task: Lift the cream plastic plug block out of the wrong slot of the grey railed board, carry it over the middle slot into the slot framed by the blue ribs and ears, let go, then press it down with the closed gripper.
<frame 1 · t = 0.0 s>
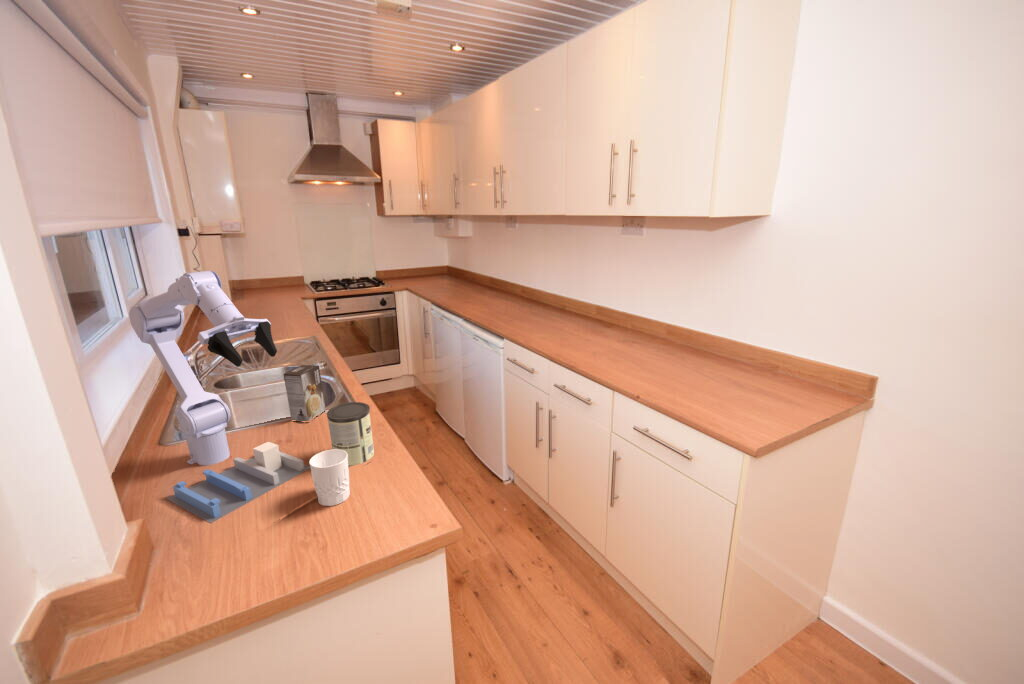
hand: (257, 358, 95), 32 cm above the worktop, tool tilted 50°, fingers open, 7 cm apart
cream plug: (269, 468, 111), point 1 cm above the worktop, touching grey railed board
coffee can: (354, 459, 117), on the worktop
coffee box: (309, 417, 143), on the worktop
white cup: (334, 498, 101), on the worktop
grey railed board: (243, 485, 106), on the worktop
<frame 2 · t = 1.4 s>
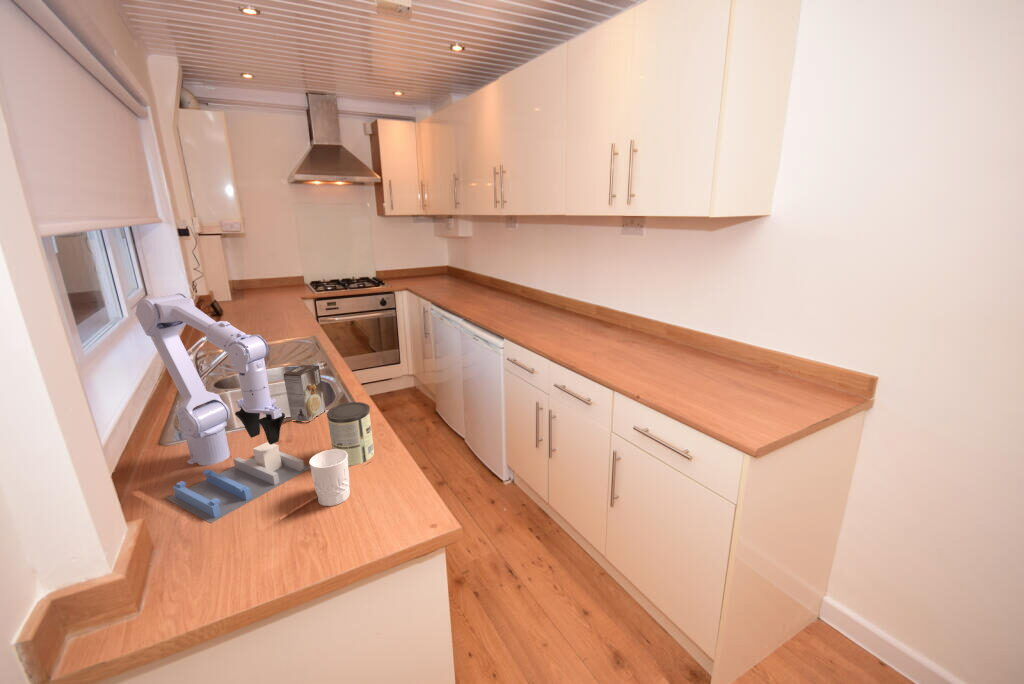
hand: (264, 439, 109), 9 cm above the worktop, tool pointing down, fingers open, 7 cm apart
nothing on the worktop moved.
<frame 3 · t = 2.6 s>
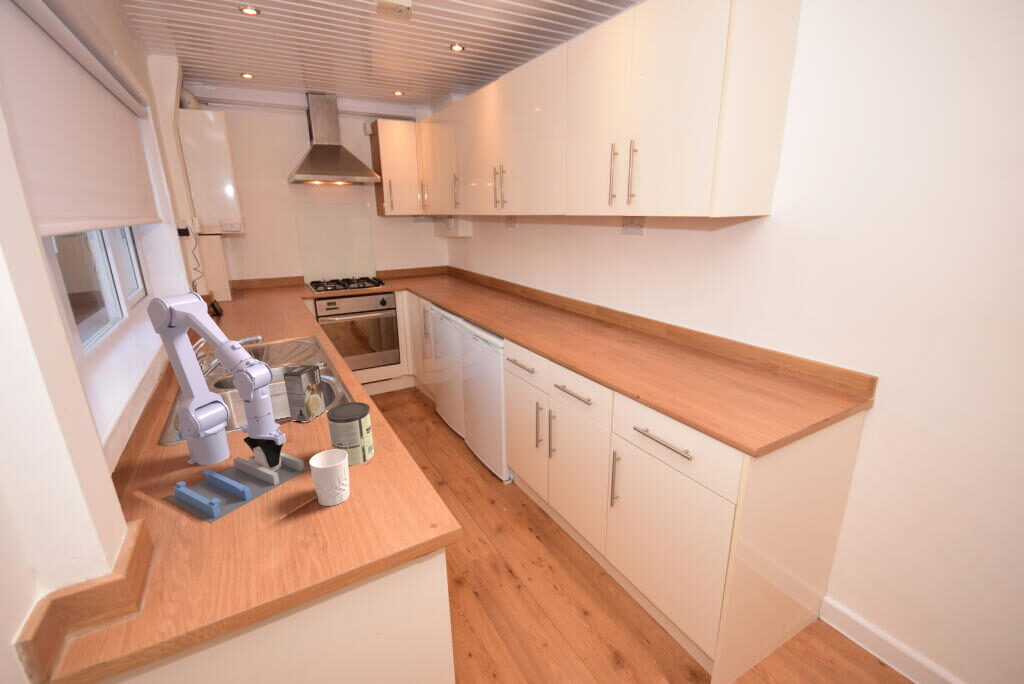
hand: (268, 463, 111), 2 cm above the worktop, tool pointing down, fingers closed on cream plug, 4 cm apart
cream plug: (269, 468, 111), point 1 cm above the worktop, touching grey railed board, gripper
everything else where it was.
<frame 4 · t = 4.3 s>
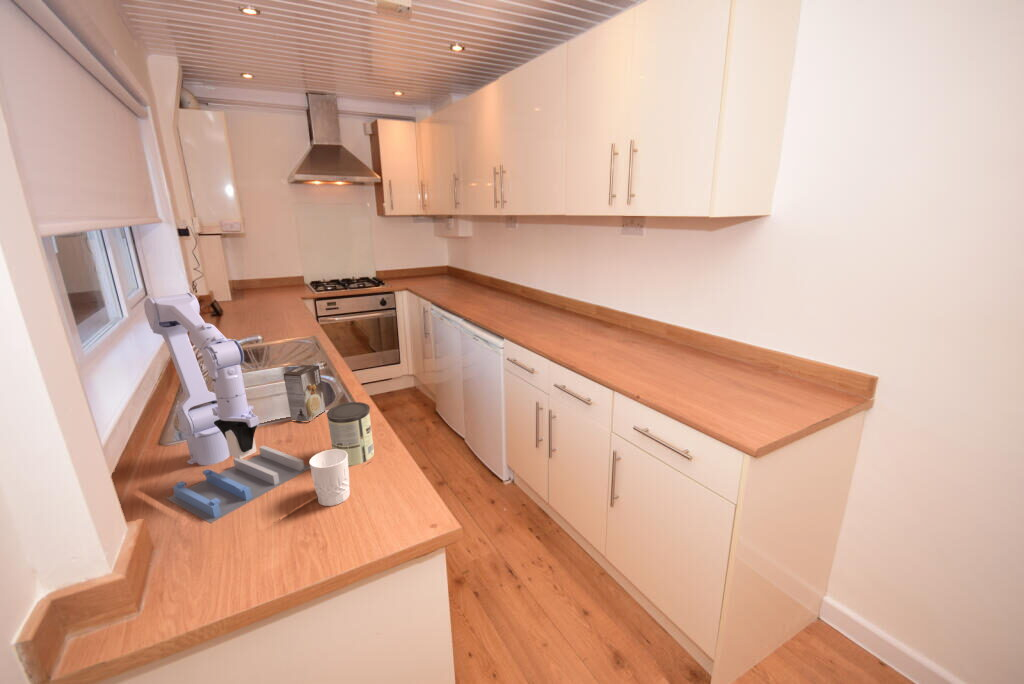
hand: (241, 448, 104), 9 cm above the worktop, tool pointing down, fingers closed on cream plug, 4 cm apart
cream plug: (243, 453, 105), point 8 cm above the worktop, touching gripper
everything else where it was.
when the fingers open (3 cm above the worktop, at t = 6.3 s): cream plug stays where it is, resting on grey railed board.
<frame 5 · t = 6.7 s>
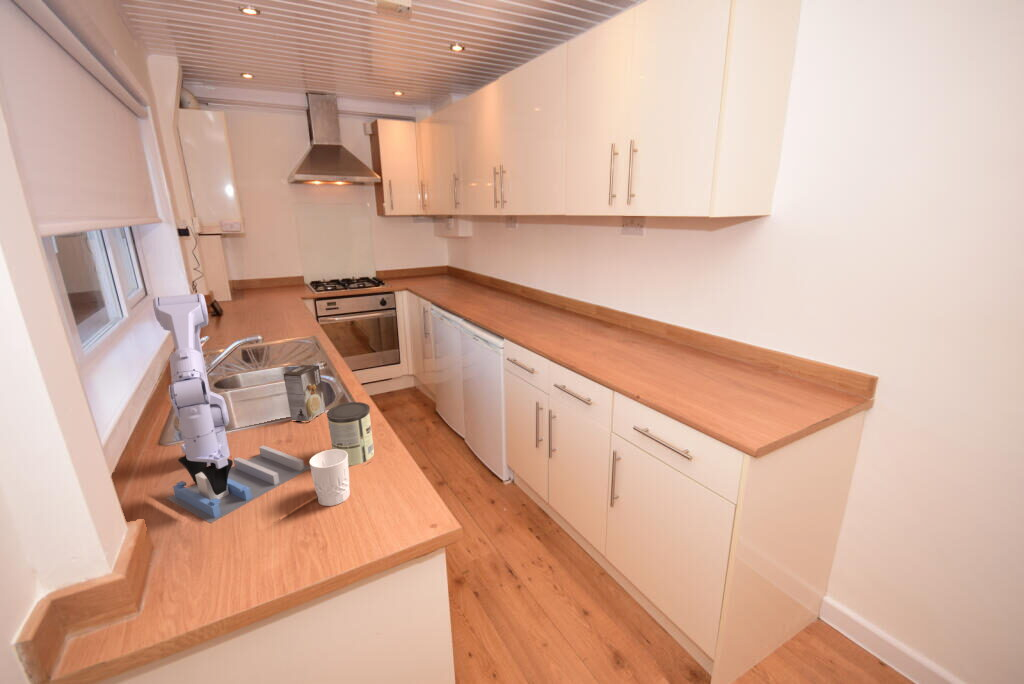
hand: (211, 487, 99), 3 cm above the worktop, tool pointing down, fingers open, 7 cm apart
cream plug: (215, 496, 100), point 1 cm above the worktop, touching grey railed board
everything else where it was.
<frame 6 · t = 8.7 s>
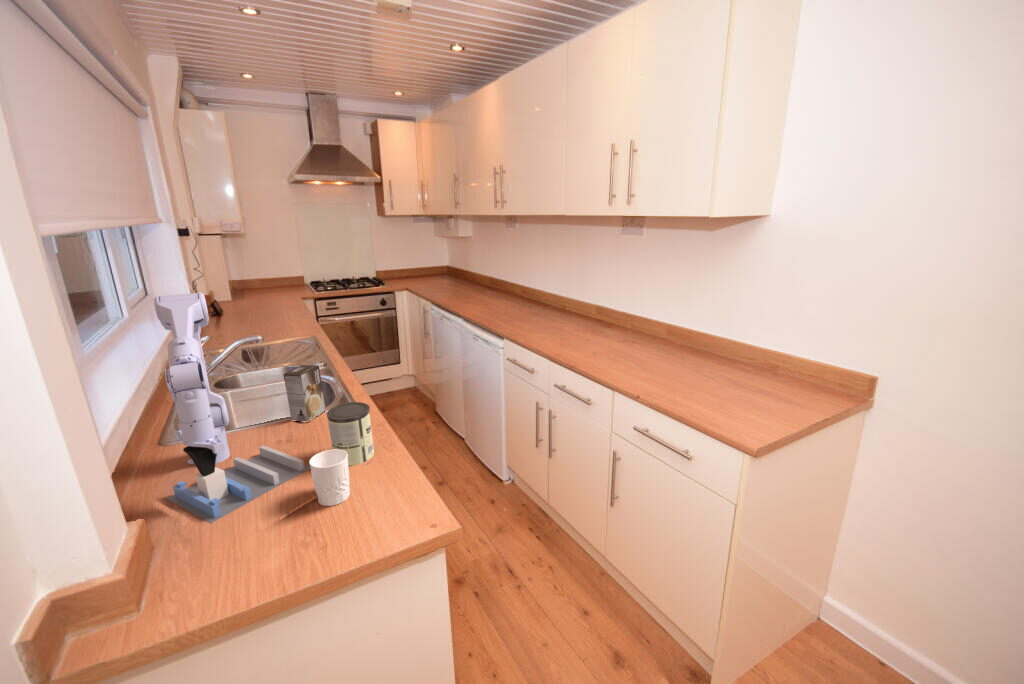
hand: (208, 474, 98), 7 cm above the worktop, tool pointing down, fingers closed, pressing on cream plug
cream plug: (215, 496, 100), point 1 cm above the worktop, touching grey railed board, gripper
everything else where it was.
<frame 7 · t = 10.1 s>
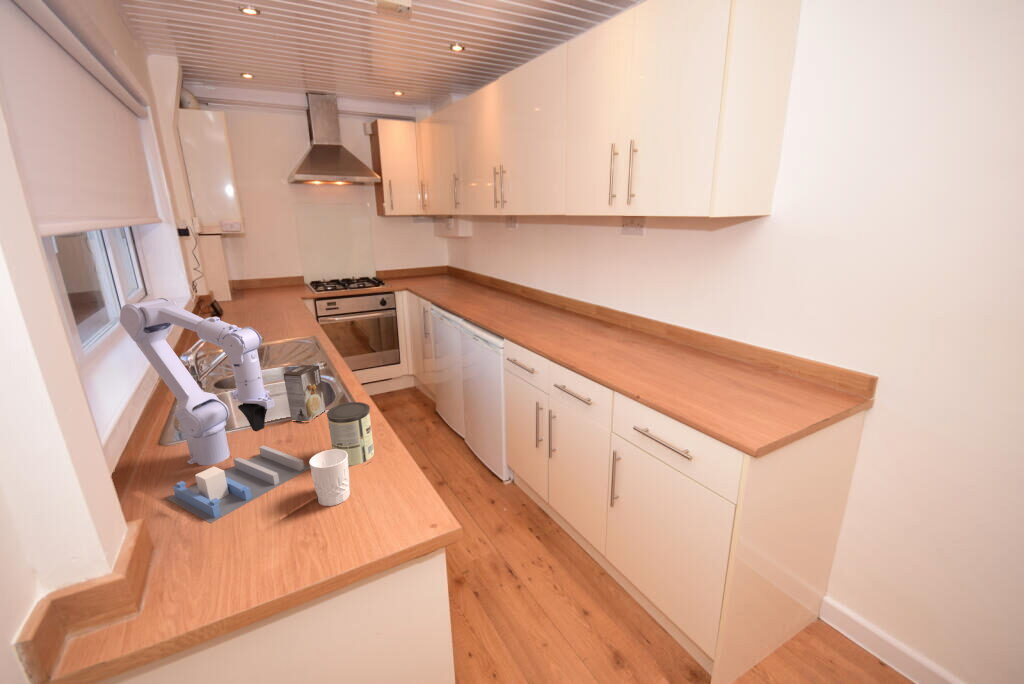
hand: (258, 429, 111), 10 cm above the worktop, tool pointing down, fingers closed
cream plug: (215, 496, 100), point 1 cm above the worktop, touching grey railed board
everything else where it was.
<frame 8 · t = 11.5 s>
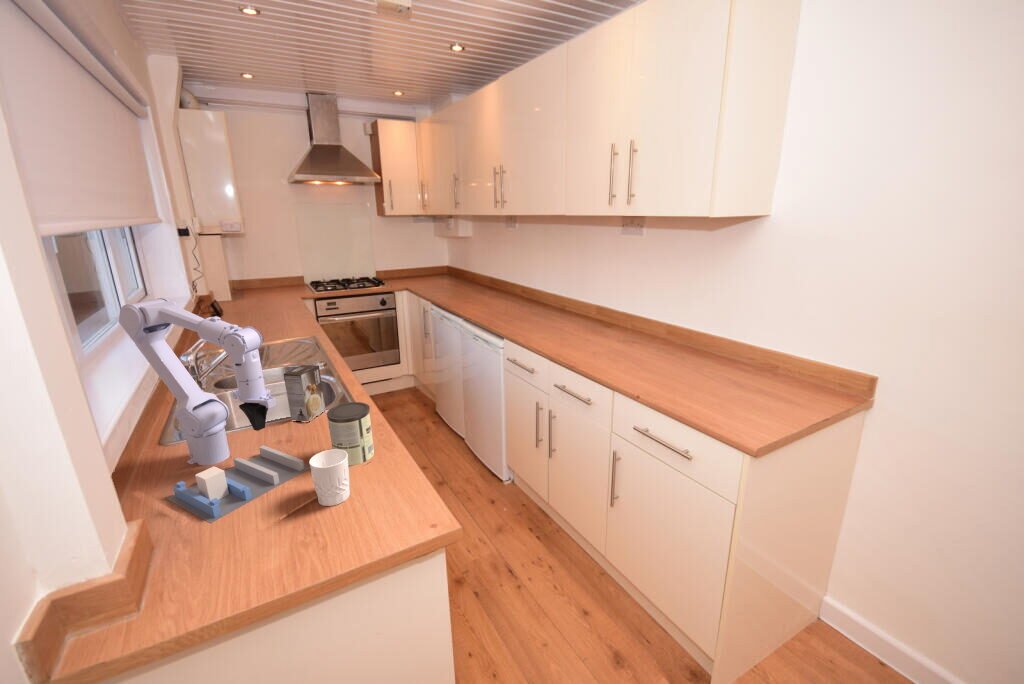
hand: (259, 428, 111), 10 cm above the worktop, tool pointing down, fingers closed
nothing on the worktop moved.
at the end: cream plug 0.3 cm from the target spot on the grey railed board, point 1.0 cm above the grey railed board's base; cream plug tilted 0°; the gripper is holding nothing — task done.
